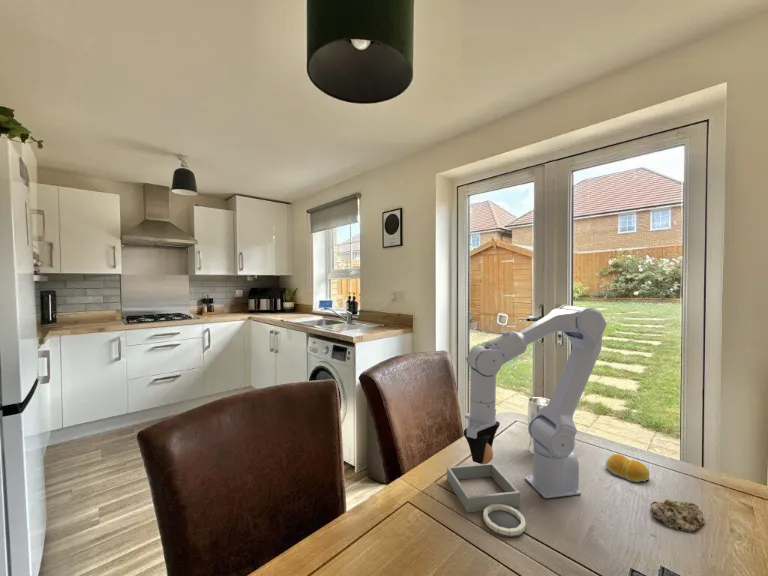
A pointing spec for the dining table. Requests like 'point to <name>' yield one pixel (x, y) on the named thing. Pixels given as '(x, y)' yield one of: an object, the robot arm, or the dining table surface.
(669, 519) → the mineral rock
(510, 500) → the low pen
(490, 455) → the orange ball
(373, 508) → the dining table surface
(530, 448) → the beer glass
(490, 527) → the ring
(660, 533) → the dining table surface
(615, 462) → the bread roll
